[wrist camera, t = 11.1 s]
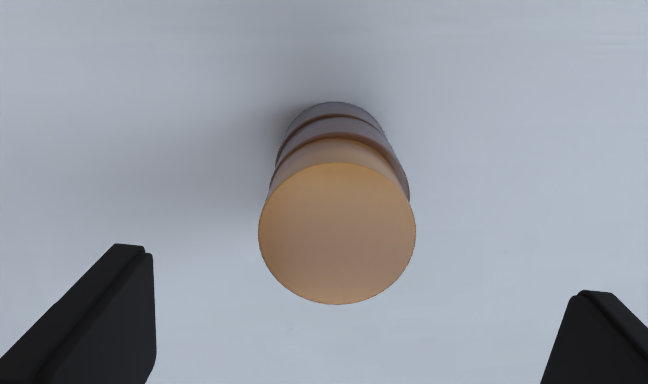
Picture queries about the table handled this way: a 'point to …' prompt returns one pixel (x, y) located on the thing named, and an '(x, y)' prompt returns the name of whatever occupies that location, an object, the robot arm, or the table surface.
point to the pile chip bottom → (328, 111)
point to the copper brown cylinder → (336, 223)
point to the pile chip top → (346, 130)
